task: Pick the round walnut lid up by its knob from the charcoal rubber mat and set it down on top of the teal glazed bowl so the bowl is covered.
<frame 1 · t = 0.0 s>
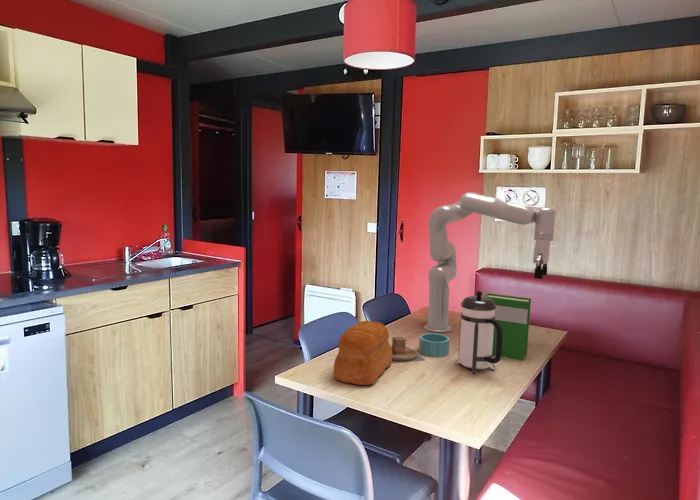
hand: (540, 276, 206), 31 cm above the table, tool pointing down, fingers open, 9 cm apart
mat: (398, 356, 194), on the table
coffee press: (477, 369, 183), on the table
lid: (398, 355, 194), point 1 cm above the table, touching mat
bowl: (433, 353, 199), on the table
bread: (364, 371, 177), on the table, touching mat
hardback book: (503, 354, 201), on the table
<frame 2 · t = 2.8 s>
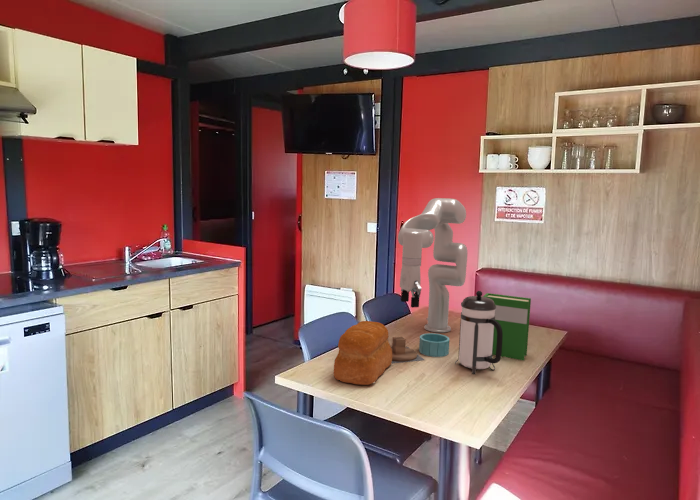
hand: (409, 304, 192), 21 cm above the table, tool pointing down, fingers open, 9 cm apart
nothing on the table moved.
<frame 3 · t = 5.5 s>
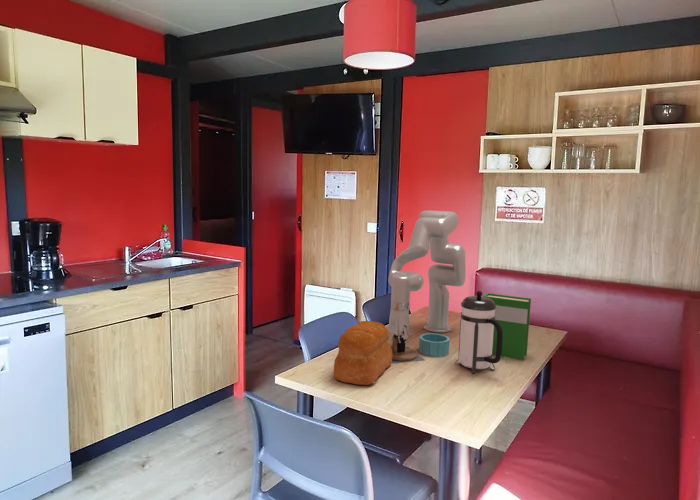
hand: (398, 349, 194), 3 cm above the table, tool pointing down, fingers closed on lid, 4 cm apart
lid: (398, 354, 194), point 1 cm above the table, touching gripper, mat
everything else where it was.
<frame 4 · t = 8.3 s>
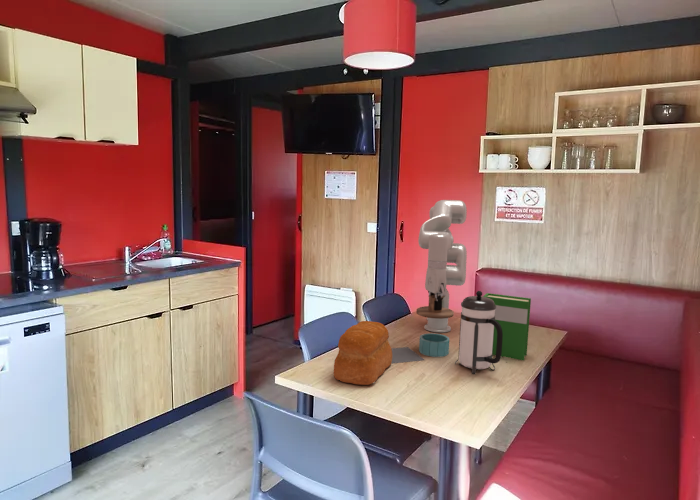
hand: (435, 308, 197), 19 cm above the table, tool pointing down, fingers closed on lid, 4 cm apart
lid: (434, 313, 197), point 17 cm above the table, touching gripper
everything else where it was.
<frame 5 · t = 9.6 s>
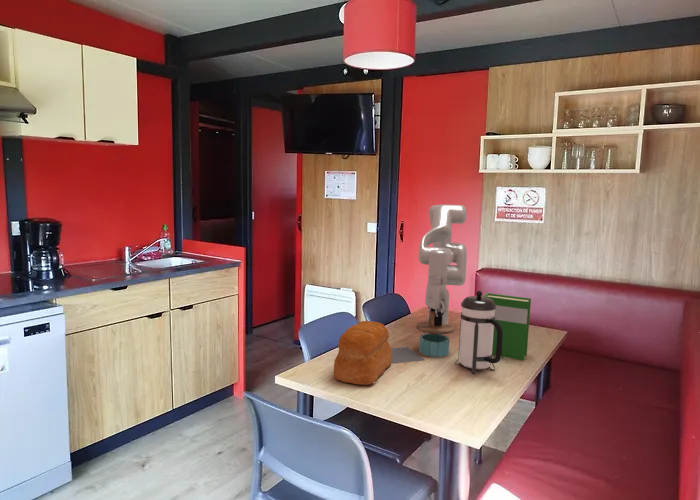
hand: (435, 323, 197), 13 cm above the table, tool pointing down, fingers closed on lid, 4 cm apart
lid: (434, 328, 198), point 10 cm above the table, touching gripper
everything else where it was.
when the fingers open (10 cm above the table, at t = 10.8 s): lid drops 1 cm, resting on bowl.
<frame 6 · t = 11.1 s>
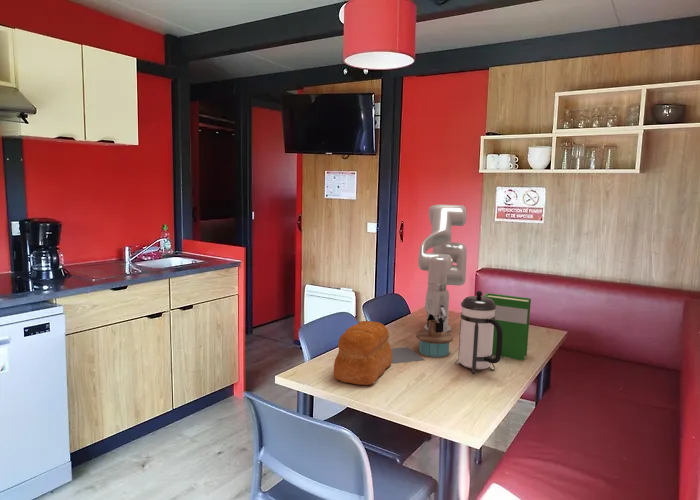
hand: (434, 329, 198), 10 cm above the table, tool pointing down, fingers open, 6 cm apart
lid: (434, 337, 198), point 6 cm above the table, touching bowl
everything else where it was.
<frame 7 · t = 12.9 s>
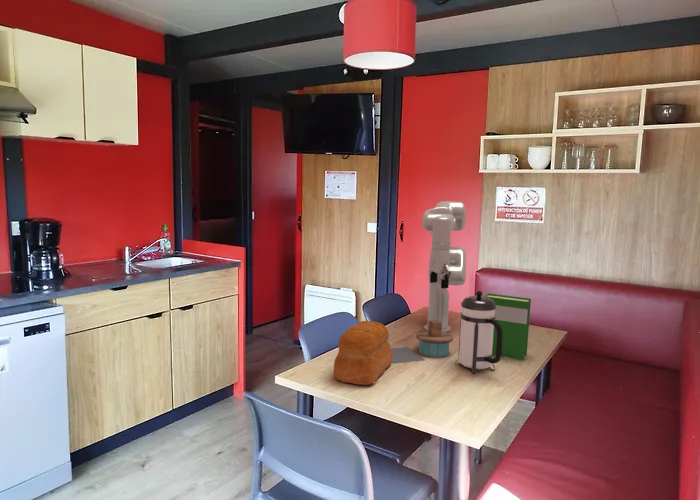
hand: (438, 285, 205), 27 cm above the table, tool pointing down, fingers open, 9 cm apart
nothing on the table moved.
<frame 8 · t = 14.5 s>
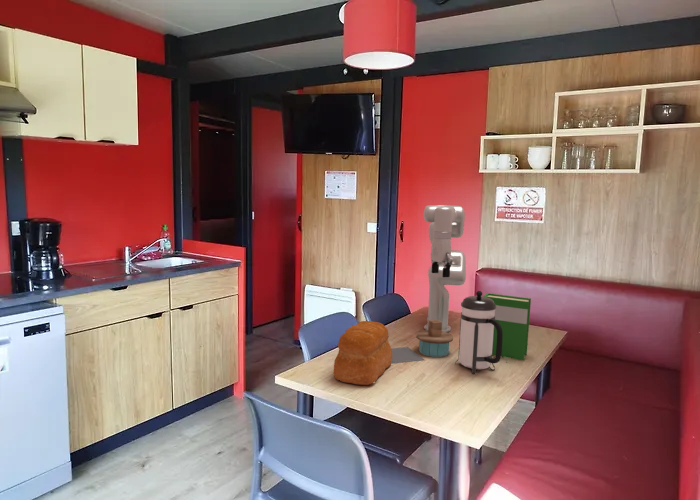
hand: (440, 275, 209), 30 cm above the table, tool pointing down, fingers open, 9 cm apart
nothing on the table moved.
at the end: lid 0.1 cm off-centre on the bowl, point 6.5 cm above the bowl's base; lid tilted 0°; the gripper is holding nothing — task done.
